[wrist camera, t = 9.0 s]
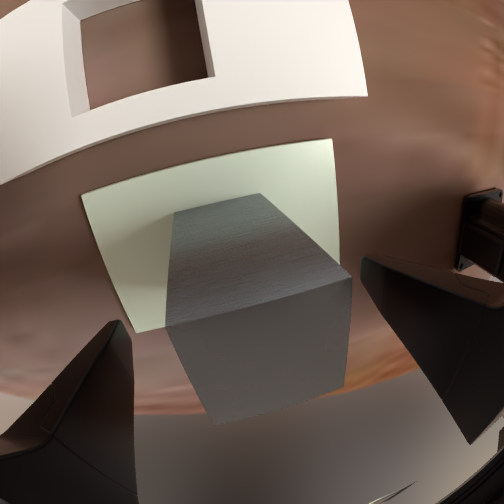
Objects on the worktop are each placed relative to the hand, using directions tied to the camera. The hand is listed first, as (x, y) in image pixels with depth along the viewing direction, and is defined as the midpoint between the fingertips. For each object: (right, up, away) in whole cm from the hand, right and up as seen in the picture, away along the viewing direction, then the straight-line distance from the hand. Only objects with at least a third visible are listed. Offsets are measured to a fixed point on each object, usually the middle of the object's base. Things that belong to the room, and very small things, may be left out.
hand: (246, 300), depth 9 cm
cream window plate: (-4, +11, 0) cm, 11 cm away
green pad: (-1, +2, +5) cm, 6 cm away
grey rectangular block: (-1, +2, +4) cm, 5 cm away
